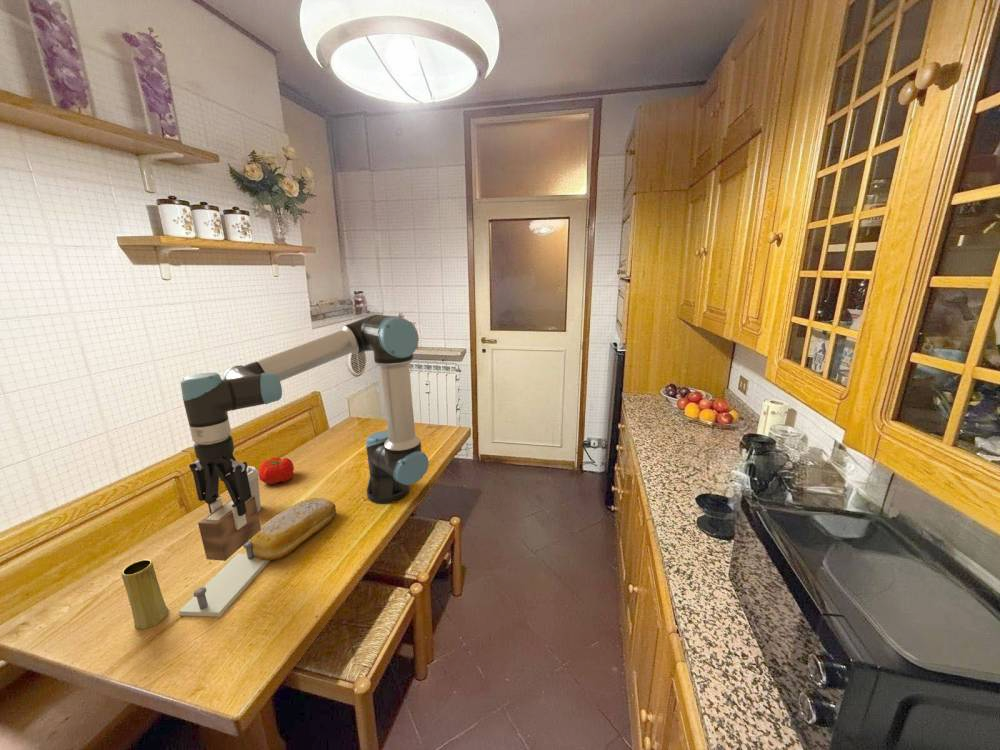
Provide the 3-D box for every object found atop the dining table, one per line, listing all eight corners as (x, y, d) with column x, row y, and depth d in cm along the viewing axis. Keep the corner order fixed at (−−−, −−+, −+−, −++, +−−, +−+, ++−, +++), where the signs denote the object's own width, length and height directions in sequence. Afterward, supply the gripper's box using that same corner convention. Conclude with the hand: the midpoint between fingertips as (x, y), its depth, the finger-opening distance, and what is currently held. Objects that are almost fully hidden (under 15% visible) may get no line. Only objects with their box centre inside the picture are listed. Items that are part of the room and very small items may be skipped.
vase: (148, 609, 97) (133, 558, 93) (175, 606, 97) (161, 556, 93) (127, 630, 91) (110, 578, 87) (156, 628, 91) (140, 575, 88)
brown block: (244, 528, 107) (237, 494, 104) (261, 529, 106) (254, 495, 104) (206, 559, 95) (197, 522, 93) (225, 560, 95) (217, 523, 92)
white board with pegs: (272, 557, 113) (268, 540, 112) (220, 616, 94) (215, 596, 92) (238, 556, 114) (234, 539, 112) (179, 615, 94) (174, 595, 93)
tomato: (252, 485, 153) (248, 465, 151) (280, 470, 164) (277, 451, 162) (276, 491, 148) (272, 470, 146) (303, 475, 159) (300, 456, 157)
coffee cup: (250, 521, 130) (242, 480, 126) (226, 518, 132) (216, 477, 128) (272, 505, 139) (265, 465, 136) (249, 502, 141) (241, 464, 137)
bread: (241, 559, 112) (237, 534, 110) (309, 509, 137) (306, 488, 135) (280, 568, 109) (277, 543, 107) (342, 515, 133) (340, 494, 132)
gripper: (164, 444, 91) (185, 532, 97) (235, 446, 89) (253, 537, 95) (192, 431, 99) (211, 514, 104) (259, 433, 96) (274, 518, 102)
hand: (231, 525), depth 99 cm, fingers closed on brown block, 5 cm apart
